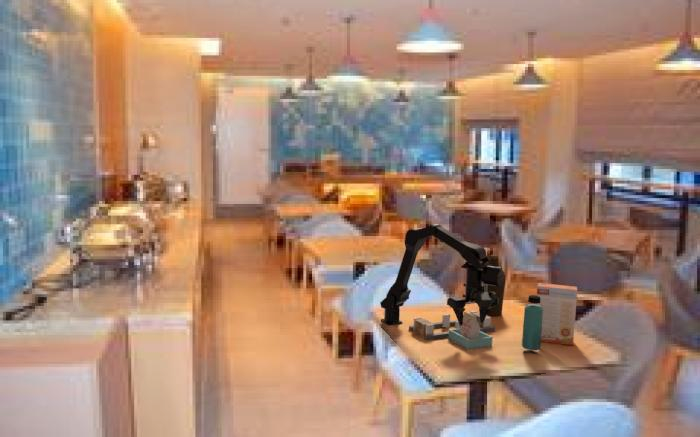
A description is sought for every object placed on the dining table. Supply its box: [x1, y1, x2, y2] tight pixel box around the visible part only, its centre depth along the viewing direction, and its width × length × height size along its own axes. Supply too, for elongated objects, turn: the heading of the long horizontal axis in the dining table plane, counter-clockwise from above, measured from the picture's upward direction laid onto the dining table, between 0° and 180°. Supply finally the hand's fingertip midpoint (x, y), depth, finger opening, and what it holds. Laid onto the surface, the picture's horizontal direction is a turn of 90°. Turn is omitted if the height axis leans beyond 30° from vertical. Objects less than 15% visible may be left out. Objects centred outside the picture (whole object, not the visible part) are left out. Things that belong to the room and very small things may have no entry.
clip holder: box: [408, 310, 496, 341], centre depth 242 cm, size 13×31×5 cm, turn 116°
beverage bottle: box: [521, 294, 543, 351], centre depth 221 cm, size 6×7×20 cm
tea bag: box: [459, 311, 480, 340], centre depth 229 cm, size 4×7×10 cm, turn 26°
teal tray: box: [447, 328, 493, 351], centre depth 229 cm, size 12×10×4 cm
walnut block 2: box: [472, 311, 490, 328], centre depth 248 cm, size 6×4×5 cm, turn 25°
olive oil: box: [478, 254, 507, 317], centre depth 266 cm, size 11×11×25 cm
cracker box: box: [535, 282, 578, 346], centre depth 233 cm, size 14×6×21 cm, turn 71°
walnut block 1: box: [413, 318, 434, 338], centre depth 236 cm, size 6×4×5 cm, turn 25°
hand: (471, 324), depth 228 cm, fingers open, 9 cm apart
